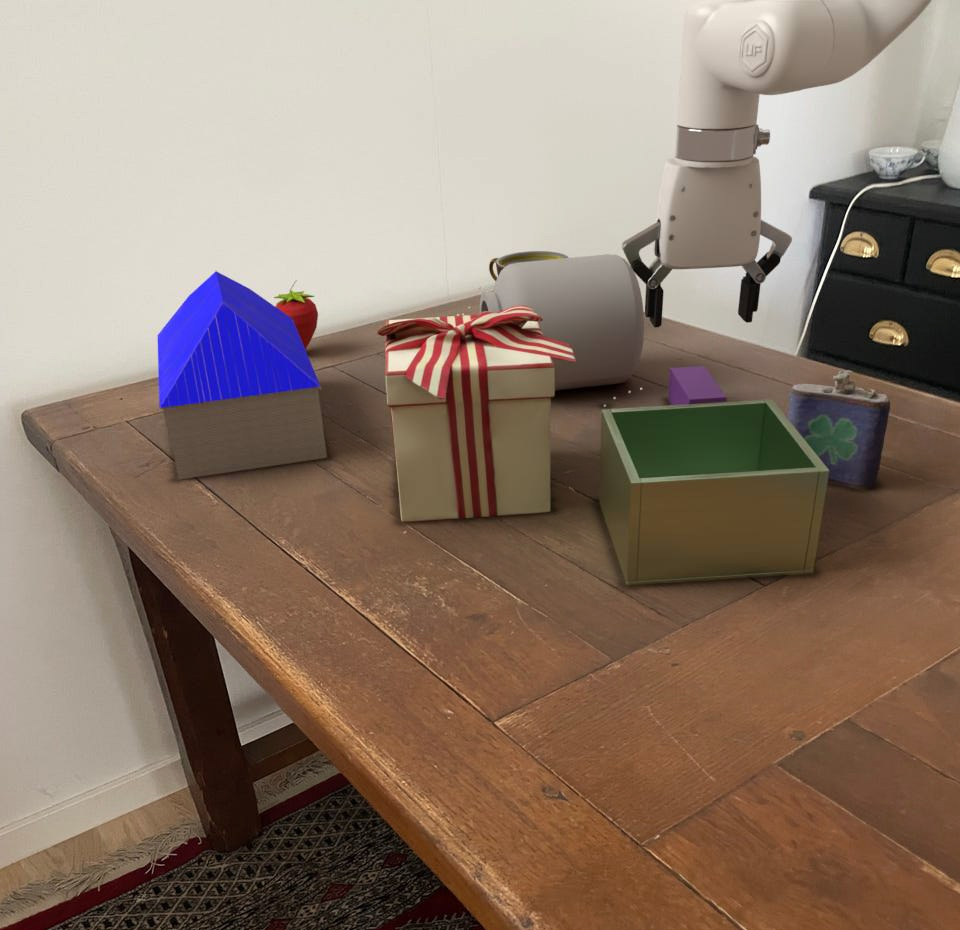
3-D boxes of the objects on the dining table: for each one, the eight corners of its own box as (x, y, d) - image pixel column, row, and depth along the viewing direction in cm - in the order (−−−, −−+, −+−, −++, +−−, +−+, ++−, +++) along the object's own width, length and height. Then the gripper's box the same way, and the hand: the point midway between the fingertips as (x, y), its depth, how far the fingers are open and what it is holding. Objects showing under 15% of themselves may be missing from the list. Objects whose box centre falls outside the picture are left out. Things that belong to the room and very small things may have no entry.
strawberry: (324, 345, 142) (315, 271, 137) (321, 363, 136) (311, 286, 130) (282, 347, 142) (270, 273, 136) (276, 365, 136) (264, 289, 130)
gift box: (403, 545, 93) (385, 359, 83) (386, 463, 108) (369, 298, 98) (586, 524, 95) (589, 339, 85) (544, 447, 110) (543, 282, 100)
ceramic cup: (584, 331, 142) (585, 257, 136) (537, 350, 136) (536, 273, 131) (515, 315, 150) (513, 244, 144) (467, 333, 144) (464, 259, 138)
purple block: (702, 399, 119) (704, 365, 117) (723, 432, 111) (726, 397, 109) (667, 401, 119) (670, 367, 117) (686, 434, 111) (689, 399, 109)
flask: (776, 475, 101) (790, 370, 95) (785, 464, 103) (800, 360, 97) (871, 494, 97) (892, 385, 91) (879, 482, 99) (900, 375, 93)
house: (171, 400, 126) (142, 269, 118) (302, 383, 130) (283, 254, 121) (176, 483, 106) (142, 332, 97) (330, 460, 109) (310, 312, 101)
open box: (760, 493, 98) (772, 398, 93) (813, 575, 85) (829, 470, 80) (599, 504, 98) (601, 409, 93) (626, 587, 85) (631, 482, 80)
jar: (653, 379, 112) (424, 358, 110) (623, 439, 126) (420, 422, 124) (654, 230, 116) (435, 208, 115) (626, 304, 131) (430, 286, 129)
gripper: (791, 135, 103) (770, 306, 112) (620, 143, 102) (613, 314, 112) (815, 147, 97) (790, 327, 106) (633, 156, 96) (625, 336, 106)
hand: (699, 321), depth 109 cm, fingers open, 9 cm apart
